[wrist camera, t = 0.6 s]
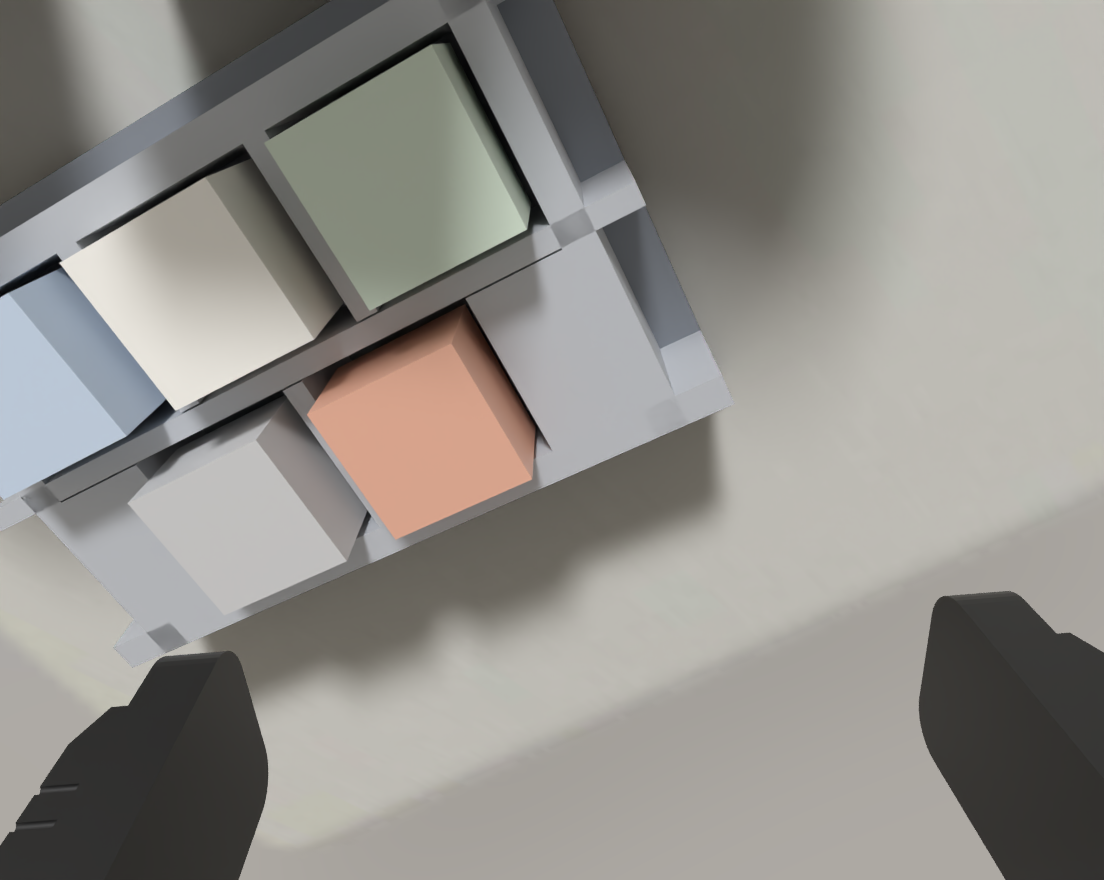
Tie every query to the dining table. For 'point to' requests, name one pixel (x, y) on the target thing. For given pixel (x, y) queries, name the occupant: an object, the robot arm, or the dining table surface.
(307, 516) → the key grey
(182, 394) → the key ivory
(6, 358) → the key blue
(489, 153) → the key sage
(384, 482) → the key terracotta
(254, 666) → the dining table surface
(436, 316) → the keypad board
